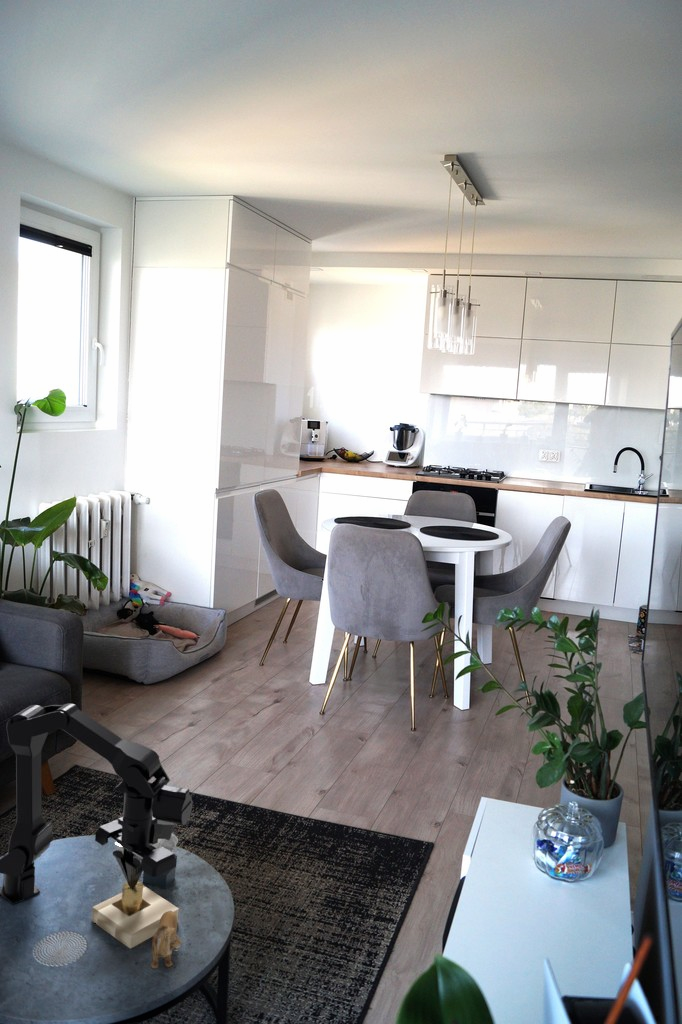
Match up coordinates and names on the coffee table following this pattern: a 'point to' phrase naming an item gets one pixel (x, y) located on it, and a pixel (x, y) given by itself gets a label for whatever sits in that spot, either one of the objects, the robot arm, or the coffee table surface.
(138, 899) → the brass cylinder plug
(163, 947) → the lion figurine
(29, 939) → the coffee table surface
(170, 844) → the watch
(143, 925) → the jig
